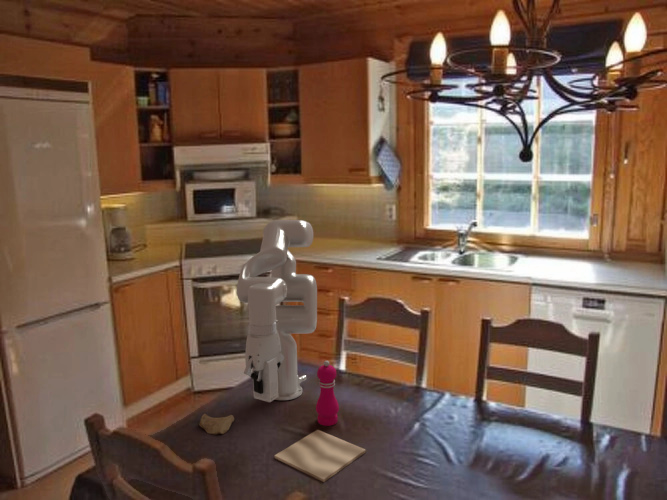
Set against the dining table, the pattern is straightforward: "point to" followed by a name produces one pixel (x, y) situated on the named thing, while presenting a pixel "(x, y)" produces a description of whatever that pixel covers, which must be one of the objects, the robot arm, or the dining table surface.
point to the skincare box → (268, 382)
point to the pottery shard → (216, 424)
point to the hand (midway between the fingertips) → (265, 388)
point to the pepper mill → (327, 396)
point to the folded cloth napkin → (320, 455)
